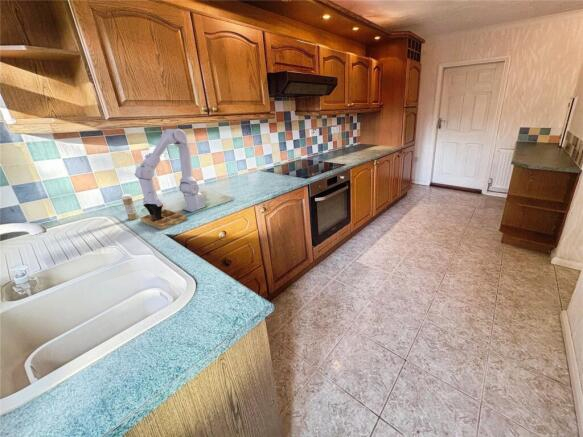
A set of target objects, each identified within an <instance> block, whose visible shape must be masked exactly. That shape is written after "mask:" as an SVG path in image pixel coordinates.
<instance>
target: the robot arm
mask: <svg viewBox="0 0 583 437" xmlns="http://www.w3.org/2000/svg"><path fill="white" fill-rule="evenodd" d="M170 145H174V146H176V147H177V148H178V154H179V162H180V170H181V178H180V179H179V186H178V189H179V191H180V192H181V193H182V195H183V200H184V203H185V207H184V208H183V210H184V211H188V212H189V213H192V212H195V211H198V210H200V209H203V208H206V205H205V202H204V196H203V194H202V193H201V192H200V186H199V184H198V181H197V179H195V177H194V175H193V167H192V157H191V156H192V155H191V147H190V142H189V140H188V138H187V132H185V131H184V130H182V129H181V128H166V129H164V130H163V132H162V133H161V136H160V139H159V140H158V143H157V144H156V146H155V148H154V150H153V152H150V153H148V154H146V155H145V156H144V160H143V161H142V163H140V165H139V166H138V167H137V168H135V170H134V171H135V173H134V176H135V177H136V178H137V179H138V181H139V184H140V189H141V191H142V194H143V198H142V204H143V205H142V206H143V207H144V208H145V209H146V210H147V211H148V213H149V214H151V213H153V212H154V214H155V217H156V218H157V219H159V218H161V211H162V210H163V207H164V204H163V203H162V201H161V200H160V198H159V197H158V194H157V189H156V185H155V182H154V178H153V177H154V176H155V170H156V169H157V167H158V165H159V163H160V162H161V156H162V154H164V152H165V151H166V149H167V148H168V146H170Z"/></svg>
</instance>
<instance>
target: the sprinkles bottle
mask: <svg viewBox="0 0 583 437" xmlns="http://www.w3.org/2000/svg"><path fill="white" fill-rule="evenodd" d="M120 198H121V200H122V202H123V205H124V209H125V213H126V215H127V217H128V218H127V219H128V220H129V221H132V220H136V219H138V218H139V216H138V214H137V209H136V207H135V204H134V201H133V196H132V193H125V194H122V195H121V196H120Z"/></svg>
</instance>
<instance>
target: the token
mask: <svg viewBox="0 0 583 437" xmlns="http://www.w3.org/2000/svg"><path fill="white" fill-rule="evenodd" d="M149 214H150V213H149ZM150 215H151V219H152V221H153V222H155V221H158V220H161V219H162V217H161V218H159V219H157V218H156V217H155V214H154V212H153V213H151V214H150Z"/></svg>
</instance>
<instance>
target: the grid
mask: <svg viewBox="0 0 583 437" xmlns="http://www.w3.org/2000/svg"><path fill="white" fill-rule="evenodd" d="M161 217H162V219H161V220H158V221H155V222H153V221H152V219H151V215H150V213H149V214H146V215H144V216H140V221H141V223H144V224H146V225H148V226H151V227H154V228H156V229H158V230H161V231H163V230H167V229H168V228H171V227H173V226H176V225H179V224H181V223H183V222H186V221H187V220H188V219H187V215H185V214H183V213H182V214H181V213H179V212H176V211H172V210H169V209H167V208H164V209H162V211H161Z"/></svg>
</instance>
